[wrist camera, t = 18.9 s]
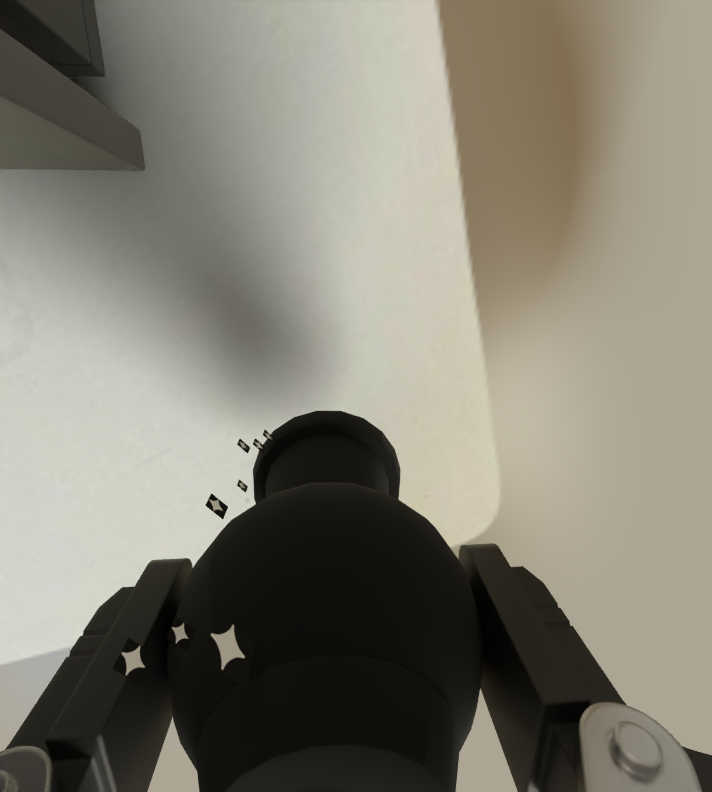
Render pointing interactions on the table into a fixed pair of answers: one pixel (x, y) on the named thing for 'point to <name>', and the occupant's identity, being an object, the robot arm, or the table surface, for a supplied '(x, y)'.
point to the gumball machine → (323, 629)
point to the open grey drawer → (57, 92)
